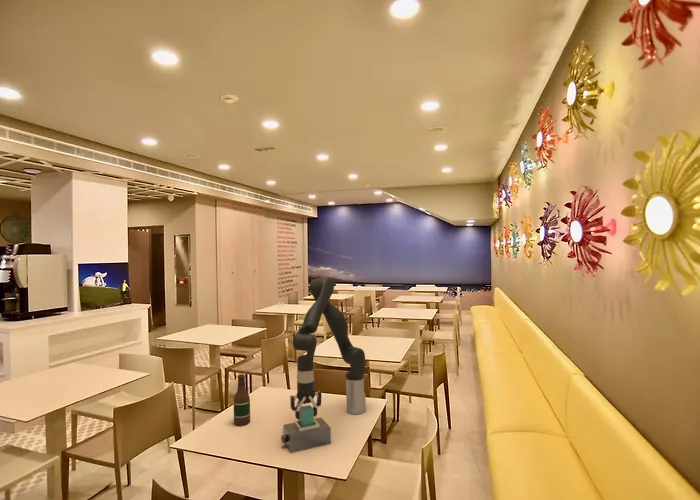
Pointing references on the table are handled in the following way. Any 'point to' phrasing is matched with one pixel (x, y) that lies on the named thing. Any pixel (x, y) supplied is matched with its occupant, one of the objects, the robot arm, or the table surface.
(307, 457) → the table surface
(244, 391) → the beer bottle
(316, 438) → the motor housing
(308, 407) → the block
